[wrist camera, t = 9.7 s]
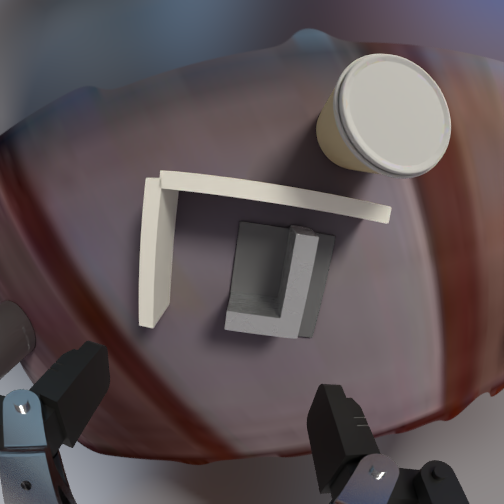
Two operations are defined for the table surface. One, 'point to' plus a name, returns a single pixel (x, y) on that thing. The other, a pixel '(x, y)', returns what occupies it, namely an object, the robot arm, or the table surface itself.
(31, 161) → the table surface
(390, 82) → the coffee cup
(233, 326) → the bracket
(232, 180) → the corner wall
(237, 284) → the mat
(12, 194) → the table surface
